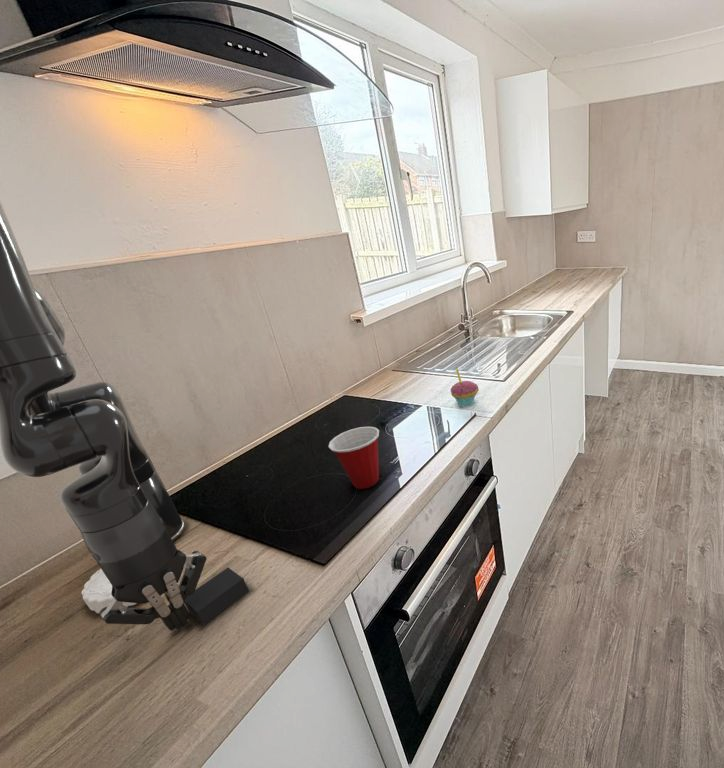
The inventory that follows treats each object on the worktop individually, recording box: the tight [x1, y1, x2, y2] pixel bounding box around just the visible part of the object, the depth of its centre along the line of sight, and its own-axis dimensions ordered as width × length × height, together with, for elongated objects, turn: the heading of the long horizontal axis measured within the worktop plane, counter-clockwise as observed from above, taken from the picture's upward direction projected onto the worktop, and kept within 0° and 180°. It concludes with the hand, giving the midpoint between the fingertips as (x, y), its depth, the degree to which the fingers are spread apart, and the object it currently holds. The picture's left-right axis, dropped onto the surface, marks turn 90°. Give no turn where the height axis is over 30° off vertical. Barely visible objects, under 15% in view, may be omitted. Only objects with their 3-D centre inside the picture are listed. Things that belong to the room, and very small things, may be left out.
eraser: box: [184, 567, 250, 626], centre depth 67 cm, size 5×7×3 cm
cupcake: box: [450, 366, 480, 407], centre depth 126 cm, size 9×8×12 cm
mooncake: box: [81, 568, 138, 614], centre depth 72 cm, size 12×12×4 cm
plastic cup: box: [328, 426, 380, 490], centre depth 93 cm, size 11×11×12 cm
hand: (180, 624), depth 63 cm, fingers closed
